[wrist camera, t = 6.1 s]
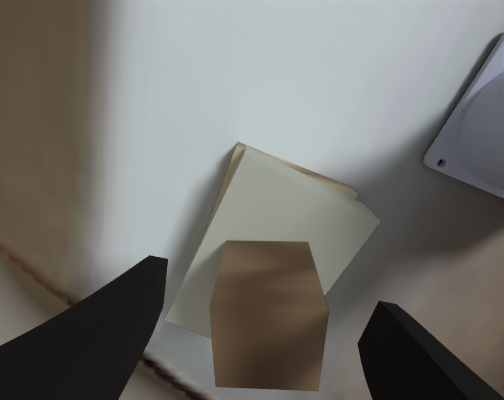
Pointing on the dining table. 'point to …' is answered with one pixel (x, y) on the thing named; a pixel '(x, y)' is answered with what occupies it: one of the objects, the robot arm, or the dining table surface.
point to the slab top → (272, 229)
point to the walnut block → (268, 317)
